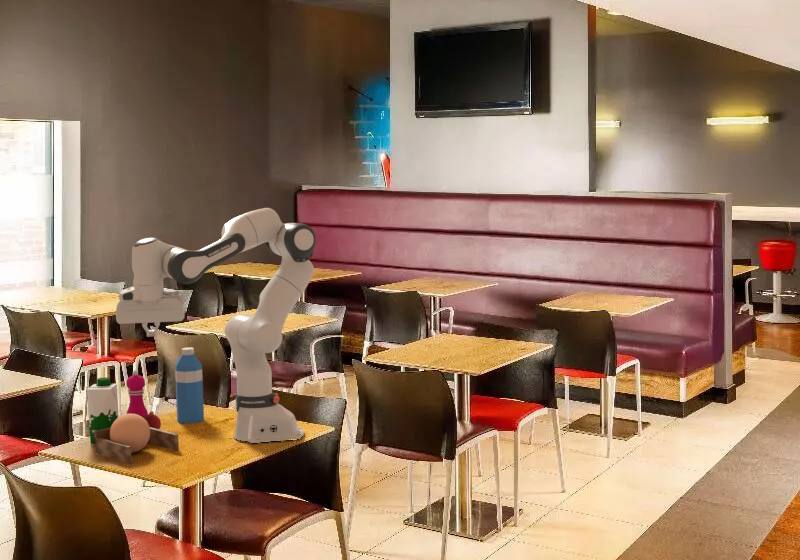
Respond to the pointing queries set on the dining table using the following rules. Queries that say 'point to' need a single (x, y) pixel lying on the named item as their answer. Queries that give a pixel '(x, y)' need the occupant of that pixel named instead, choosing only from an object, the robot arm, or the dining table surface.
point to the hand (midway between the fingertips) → (151, 336)
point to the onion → (153, 420)
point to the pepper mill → (136, 395)
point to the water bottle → (189, 388)
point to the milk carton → (102, 406)
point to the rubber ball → (130, 431)
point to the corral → (124, 451)
